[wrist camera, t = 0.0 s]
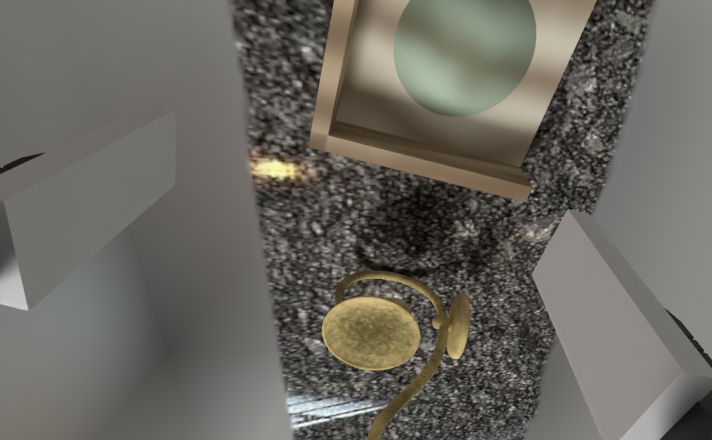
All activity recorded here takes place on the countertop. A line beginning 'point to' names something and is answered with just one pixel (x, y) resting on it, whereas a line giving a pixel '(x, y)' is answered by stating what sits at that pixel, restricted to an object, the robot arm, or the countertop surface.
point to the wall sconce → (391, 335)
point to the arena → (444, 85)
